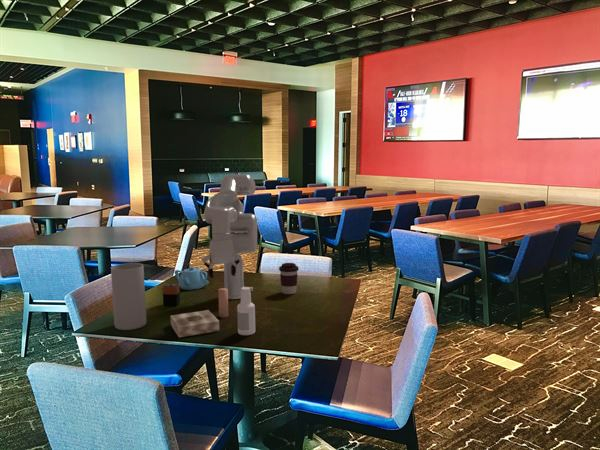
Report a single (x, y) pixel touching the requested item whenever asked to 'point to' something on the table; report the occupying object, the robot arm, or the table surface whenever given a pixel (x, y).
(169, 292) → the battery
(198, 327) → the socket block
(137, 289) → the cylinder vase
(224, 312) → the peg
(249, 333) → the spray bottle
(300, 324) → the table surface
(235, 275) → the robot arm
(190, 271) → the teapot
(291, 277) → the coffee cup
